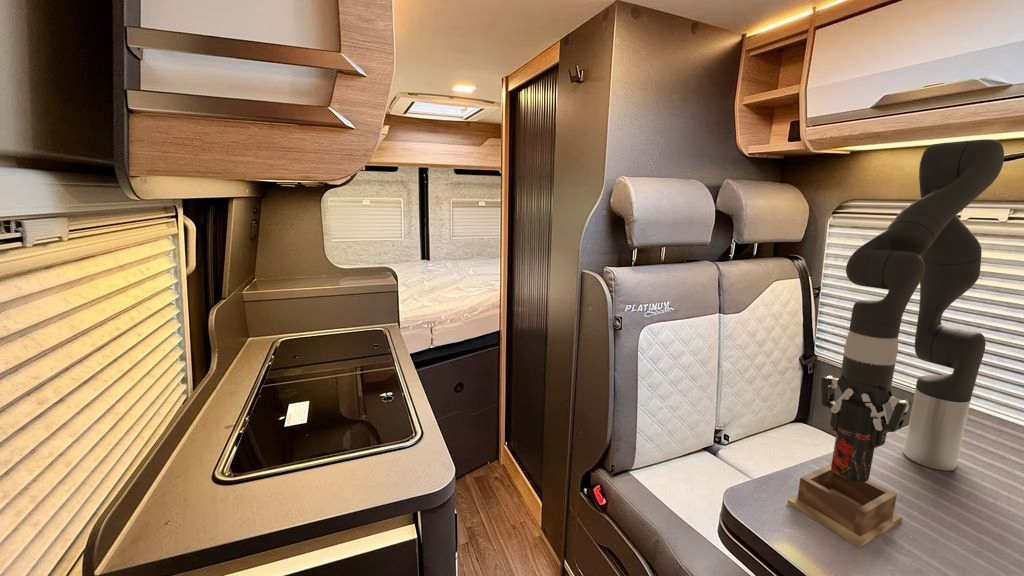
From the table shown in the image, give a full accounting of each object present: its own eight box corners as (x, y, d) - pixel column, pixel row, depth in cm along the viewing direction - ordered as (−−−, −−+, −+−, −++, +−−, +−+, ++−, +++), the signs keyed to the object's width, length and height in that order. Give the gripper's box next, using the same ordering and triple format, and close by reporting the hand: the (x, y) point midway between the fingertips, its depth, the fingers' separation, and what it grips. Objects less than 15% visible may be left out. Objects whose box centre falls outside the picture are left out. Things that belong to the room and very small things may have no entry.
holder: (829, 483, 96) (833, 458, 94) (901, 521, 84) (906, 494, 83) (787, 503, 89) (790, 477, 88) (859, 547, 78) (864, 519, 77)
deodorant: (875, 483, 82) (889, 411, 79) (840, 479, 83) (852, 408, 80) (858, 465, 87) (869, 396, 84) (825, 462, 88) (835, 394, 85)
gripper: (928, 365, 75) (911, 452, 79) (838, 342, 88) (826, 417, 91) (907, 373, 72) (890, 462, 76) (816, 347, 85) (805, 425, 88)
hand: (855, 437), depth 84 cm, fingers closed on deodorant, 6 cm apart
